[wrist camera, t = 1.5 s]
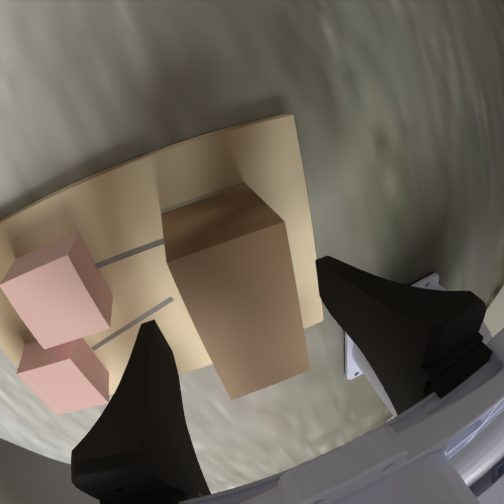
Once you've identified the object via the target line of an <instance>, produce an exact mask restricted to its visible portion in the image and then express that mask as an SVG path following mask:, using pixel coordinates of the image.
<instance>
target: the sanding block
mask: <svg viewBox="0 0 504 504" xmlns="http://www.w3.org/2000/svg"><path fill="white" fill-rule="evenodd" d="M161 219H162V229H163V238H164V246H165V255H166V263H167V265H168V267H169V270H170V272H171V275H172V277H173V279H174V281H175V284H176V286H177V288H178V291H179V293H180V295H181V297H182V300H183V302H184V304H185V306H186V308H187V311H188V313H189V315H190V317H191V319H192V321H193V324H194V326H195V328H196V330H197V332H198V334H199V336H200V338H201V340H202V343H203V345H204V347H205V349H206V351H207V353H208V355H209V357H210V359H211V361H212V363H213V365H214V367H215V369H216V371H217V373H218V375H219V377H220V379H221V381H222V383H223V384H224V386H225V388H226V390H227V392H228V394H229V396H230V398H231V400H233V399H236V398H238V397H241V396H244V395H247V394H249V393H252V392H255V391H258V390H260V389H263V388H265V387H268V386H271V385H273V384H276V383H278V382H281V381H283V380H286V379H288V378H291V377H293V376H295V375H298V374H300V373H302V372H305V371H307V370H309V369H310V368H309V361H308V355H307V348H306V342H305V335H304V329H303V323H302V316H301V310H300V304H299V298H298V292H297V286H296V281H295V275H294V269H293V263H292V258H291V252H290V247H289V241H288V236H287V230H286V225H285V221H284V220H283V219H282V218H281V217H280V216H279V215H278V214H277V213H276V212H275V211H274V210H273V209H272V208H270V207H269V206H268V205H267V204H266V203H265V202H264V201H263V200H262V199H261V198H260V197H259V196H258V195H257V194H256V193H255V192H254V191H253V190H252V189H251V188H250V187H249V186H248V185H247V184H246V183H245V182H242V183H239V184H236V185H233V186H230V187H227V188H224V189H221V190H217V191H214V192H211V193H208V194H205V195H202V196H199V197H196V198H193V199H191V200H188V201H185V202H182V203H179V204H176V205H173V206H170V207H168V208H165V209H162V210H161Z"/></svg>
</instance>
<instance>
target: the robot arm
mask: <svg viewBox="0 0 504 504" xmlns="http://www.w3.org/2000/svg"><path fill="white" fill-rule="evenodd" d="M315 263H316V271H317V280H318V288H319V296H320V298H321V300H322V301H323V303H324V305H325V306H326V308H327V309H328V311H329V312H330V314H331V315H332V316H333V318H334V319H335V320H336V321H337V322H338V324H339V325H340V326H341V327H342V329H343V330H344V331H345V377H346V378H347V379H348V380H351V379H353V378H355V377H357V376H359V375H361V374H364V376H365V377H366V378H367V380H368V381H369V382H370V384H371V385H372V387H373V388H374V389H375V391H376V392H377V393H378V395H379V396H380V398H381V399H382V400H383V402H384V403H385V405H386V406H387V407H388V409H389V410H390V411H391V413H392V414H393V416H394V417H395V418H393V419H391V420H390V421H388V422H386V423H384V424H383V425H381V426H379V427H377V428H376V429H374V430H371V431H369V432H367V433H365V434H363V435H361V436H360V437H358V438H356V439H354V440H352V441H350V442H348V443H346V444H344V445H342V446H340V447H338V448H336V449H333V450H331V451H329V452H327V453H325V454H323V455H320V456H318V457H316V458H314V459H311V460H309V461H307V462H304V463H302V464H300V465H298V466H296V467H294V468H291V469H289V470H286V471H283V472H281V473H278V474H275V475H273V476H270V477H267V478H264V479H261V480H258V481H255V482H252V483H249V484H246V485H243V486H239V487H236V488H233V489H229V490H226V491H222V492H218V493H215V494H211V493H210V491H209V488H208V486H207V484H206V481H205V479H204V476H203V473H202V471H201V468H200V465H199V463H198V460H197V457H196V454H195V451H194V448H193V445H192V442H191V439H190V435H189V432H188V428H187V425H186V421H185V416H184V410H183V404H182V397H181V390H180V383H179V376H178V370H177V366H176V362H175V358H174V354H173V351H172V349H171V348H170V346H169V344H168V342H167V341H166V339H165V337H164V335H163V334H162V332H161V330H160V328H159V326H158V325H157V323H156V321H155V319H154V320H151V321H148V322H145V323H142V324H141V326H140V328H139V331H138V334H137V338H136V341H135V344H134V347H133V350H132V352H131V355H130V358H129V361H128V363H127V366H126V368H125V371H124V373H123V376H122V378H121V380H120V383H119V385H118V387H117V389H116V391H115V393H114V395H113V397H112V398H111V400H110V402H109V403H108V405H107V407H106V408H105V410H104V411H103V413H102V415H101V416H100V418H99V419H98V420H97V422H96V423H95V425H94V426H93V427H92V428H91V430H90V431H89V432H88V434H87V435H86V436H85V437H84V438H83V439H82V440H81V442H80V443H79V444H78V445H77V446H76V447H75V448H74V449H73V450H72V455H71V473H72V474H71V477H72V483H73V484H74V485H75V486H76V487H77V488H78V489H80V490H81V491H83V492H85V493H87V494H88V495H90V496H93V497H94V498H96V499H99V500H100V504H504V328H503V329H502V330H501V331H500V332H499V333H498V334H497V335H495V336H494V337H493V338H492V336H491V334H490V331H489V329H488V328H487V326H486V325H485V324H484V322H483V319H484V316H485V312H486V305H485V303H484V302H483V301H482V300H481V299H480V298H479V297H477V296H476V295H475V294H474V293H472V292H471V291H447V290H446V289H445V288H443V287H442V286H441V285H440V284H438V281H439V275H438V274H437V273H433V274H431V275H429V276H428V277H426V278H424V279H422V280H420V281H418V282H416V283H414V284H413V285H411V286H409V285H405V284H401V283H397V282H393V281H390V280H387V279H384V278H381V277H378V276H375V275H373V274H370V273H367V272H365V271H362V270H360V269H358V268H355V267H353V266H351V265H348V264H346V263H344V262H342V261H339V260H337V259H335V258H332V257H330V256H325V257H323V258H320V259H317V260H315Z"/></svg>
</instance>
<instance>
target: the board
mask: <svg viewBox="0 0 504 504" xmlns="http://www.w3.org/2000/svg"><path fill="white" fill-rule="evenodd" d="M242 182H245V183H246V184H247V185H248V186H249V187H250V188H251V189H252V190H253V191H254V192H255V193H256V194H257V195H258V196H259V197H260V198H261V199H262V200H263V201H264V202H265V203H266V204H267V205H268V206H269V207H270V208H272V209H273V210H274V211H275V212H276V213H277V214H278V215H279V216H280V217H281V218H282V219H283V220H284V221H285V225H286V230H287V236H288V241H289V247H290V252H291V258H292V263H293V269H294V275H295V281H296V286H297V292H298V298H299V304H300V310H301V316H302V323H303V329H305V328H307V327H310V326H312V325H314V324H317V323H319V322H321V321H323V312H322V303H321V298H320V296H319V288H318V280H317V271H316V263H315V260H317V259H316V251H315V244H314V236H313V229H312V222H311V215H310V208H309V202H308V195H307V189H306V183H305V176H304V170H303V164H302V159H301V153H300V147H299V142H298V136H297V131H296V126H295V120H294V115H291V114H281V115H276V116H272V117H268V118H263V119H259V120H255V121H251V122H247V123H244V124H240V125H236V126H232V127H229V128H225V129H222V130H218V131H215V132H211V133H208V134H204V135H201V136H198V137H195V138H191V139H188V140H185V141H182V142H179V143H176V144H173V145H170V146H167V147H164V148H161V149H158V150H155V151H152V152H150V153H147V154H144V155H141V156H139V157H136V158H133V159H131V160H128V161H125V162H123V163H120V164H118V165H115V166H113V167H110V168H108V169H105V170H103V171H100V172H98V173H96V174H93V175H91V176H89V177H86V178H84V179H82V180H79V181H77V182H75V183H73V184H70V185H68V186H66V187H64V188H62V189H59V190H57V191H55V192H53V193H51V194H49V195H47V196H45V197H43V198H41V199H39V200H37V201H35V202H33V203H31V204H29V205H27V206H25V207H23V208H21V209H19V210H17V211H15V212H13V213H12V214H10V215H8V216H6V217H4V218H2V219H1V220H0V283H1V281H2V280H3V278H4V277H5V275H6V273H7V272H8V270H9V269H10V267H11V265H12V264H13V262H14V261H15V259H17V258H19V257H21V256H23V255H25V254H27V253H30V252H32V251H34V250H36V249H38V248H40V247H43V246H45V245H47V244H49V243H52V242H54V241H56V240H58V239H61V238H63V237H65V236H68V235H70V234H72V233H75V232H77V231H79V233H80V235H81V237H82V239H83V241H84V243H85V245H86V247H87V249H88V251H89V253H90V255H91V257H92V259H93V261H94V263H95V265H96V267H97V269H98V271H99V273H100V275H101V277H102V279H103V280H104V282H105V284H106V286H107V288H108V290H109V291H110V293H111V295H112V297H113V304H112V314H111V325H110V328H109V329H106V330H103V331H100V332H97V333H94V334H91V335H88V336H85V337H82V338H83V339H84V340H85V342H86V343H87V345H88V346H89V347H90V349H91V350H92V351H93V353H94V354H95V355H96V357H97V358H98V359H99V361H100V362H101V363H102V364H103V366H104V367H105V368H106V369H107V371H108V372H109V395H112V394H114V393H115V391H116V389H117V387H118V385H119V383H120V380H121V378H122V376H123V373H124V371H125V368H126V366H127V363H128V361H129V358H130V355H131V352H132V350H133V347H134V344H135V341H136V338H137V334H138V331H139V328H140V326H141V324H142V323H145V322H148V321H151V320H154V319H155V321H156V323H157V325H158V326H159V328H160V330H161V332H162V334H163V335H164V337H165V339H166V341H167V342H168V344H169V346H170V348H171V349H172V351H173V354H174V358H175V362H176V366H177V370H178V375H180V374H183V373H187V372H190V371H193V370H196V369H199V368H202V367H205V366H208V365H210V364H213V363H212V361H211V359H210V357H209V355H208V353H207V351H206V349H205V347H204V345H203V343H202V340H201V338H200V336H199V334H198V332H197V330H196V328H195V326H194V324H193V321H192V319H191V317H190V315H189V313H188V311H187V308H186V306H185V304H184V302H183V300H182V297H181V295H180V293H179V291H178V288H177V286H176V284H175V281H174V279H173V277H172V275H171V272H170V270H169V267H168V265H167V263H166V255H165V246H164V238H163V229H162V219H161V210H162V209H165V208H168V207H170V206H173V205H176V204H179V203H182V202H185V201H188V200H191V199H193V198H196V197H199V196H202V195H205V194H208V193H211V192H214V191H217V190H221V189H224V188H227V187H230V186H233V185H236V184H239V183H242ZM35 341H37V339H36V338H35V337H34V336H33V334H32V333H31V331H30V330H29V329H28V327H27V326H26V325H25V323H24V322H23V320H22V319H21V318H20V316H19V315H18V313H17V312H16V310H15V309H14V307H13V306H12V304H11V303H10V301H9V300H8V298H7V297H6V295H5V293H4V292H3V290H2V289H1V287H0V347H1V348H2V349H3V350H4V352H5V353H6V354H7V355H8V357H9V358H10V359H11V360H12V361H13V362H14V364H15V365H16V366H17V367H19V364H20V360H21V357H22V354H23V350H24V347H25V345H26V344H29V343H32V342H35Z"/></svg>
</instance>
